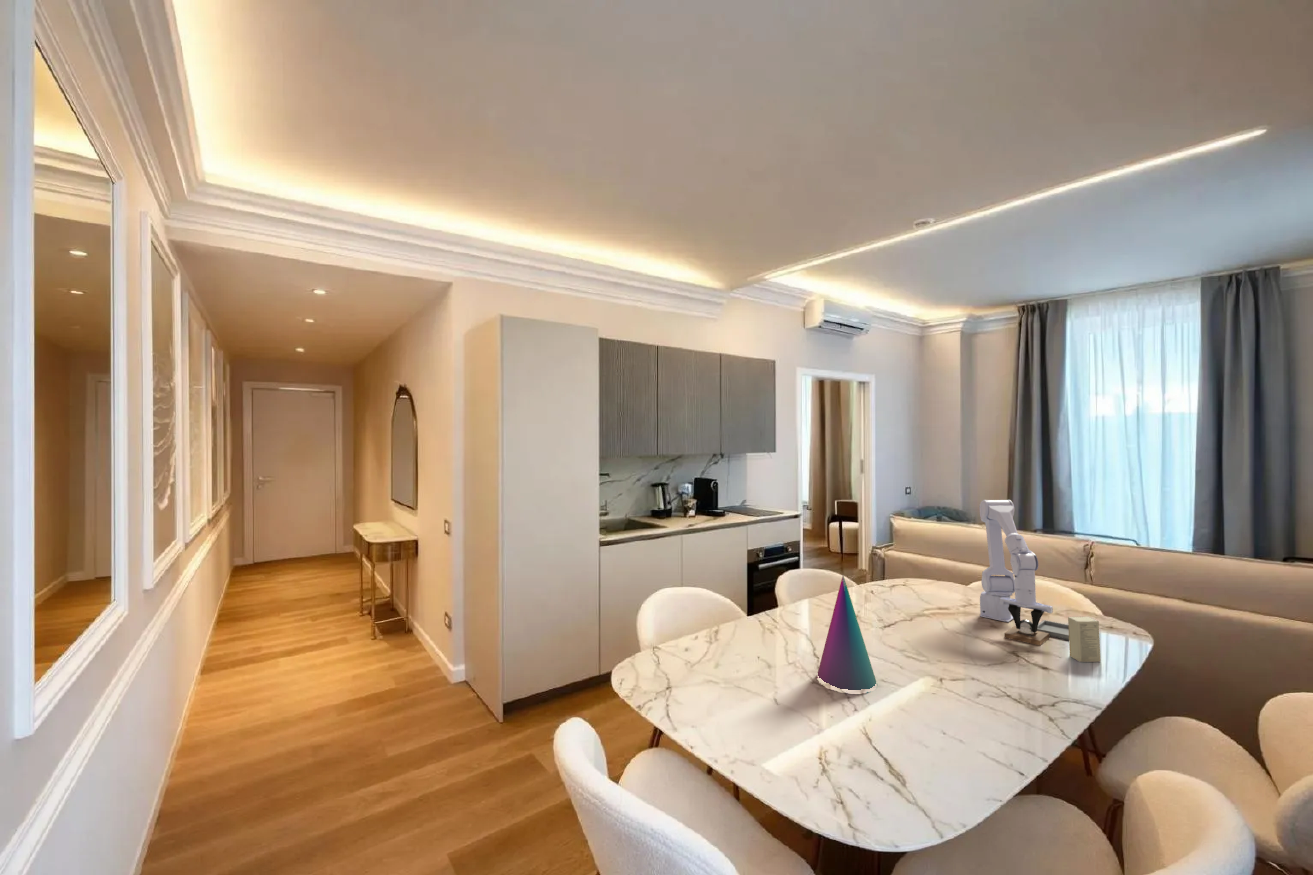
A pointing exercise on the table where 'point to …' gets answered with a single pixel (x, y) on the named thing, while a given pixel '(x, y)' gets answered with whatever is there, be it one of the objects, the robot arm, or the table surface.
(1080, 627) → the skincare box
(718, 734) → the table surface
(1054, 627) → the tray
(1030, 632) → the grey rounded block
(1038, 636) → the socket block
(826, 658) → the decorative cone
